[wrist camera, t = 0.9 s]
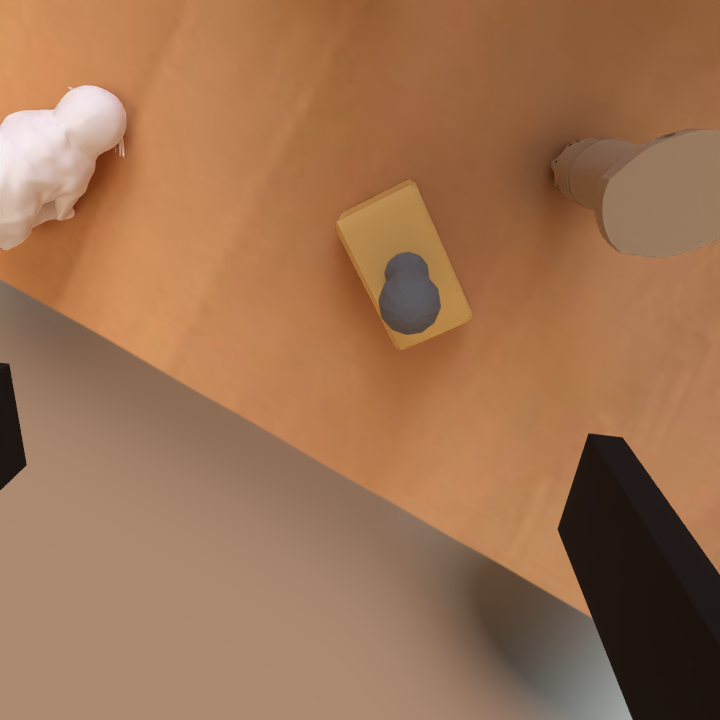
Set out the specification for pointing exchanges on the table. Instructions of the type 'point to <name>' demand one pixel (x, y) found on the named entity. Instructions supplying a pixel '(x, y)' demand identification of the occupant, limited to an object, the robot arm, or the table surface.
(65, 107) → the white lumpy piece
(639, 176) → the handle
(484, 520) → the table surface
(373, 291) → the rubber stamp
